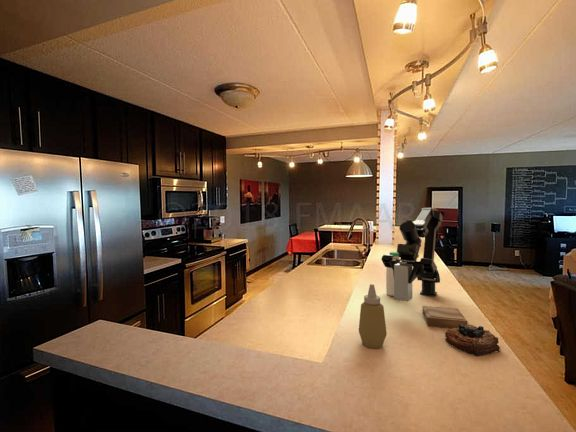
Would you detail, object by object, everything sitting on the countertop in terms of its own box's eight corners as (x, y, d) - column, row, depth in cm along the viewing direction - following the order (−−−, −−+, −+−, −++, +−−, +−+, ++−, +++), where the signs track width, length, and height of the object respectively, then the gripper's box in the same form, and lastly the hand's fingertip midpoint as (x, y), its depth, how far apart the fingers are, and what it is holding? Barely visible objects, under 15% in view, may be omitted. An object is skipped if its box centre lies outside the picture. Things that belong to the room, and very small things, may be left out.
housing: (399, 295, 109) (399, 259, 108) (412, 298, 105) (412, 261, 105) (394, 298, 105) (394, 261, 104) (407, 301, 102) (407, 263, 101)
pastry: (505, 351, 79) (505, 331, 78) (474, 359, 75) (474, 338, 75) (469, 335, 89) (469, 317, 89) (440, 341, 85) (440, 322, 85)
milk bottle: (404, 297, 126) (404, 253, 125) (386, 296, 128) (386, 253, 128) (403, 292, 133) (403, 251, 133) (386, 291, 136) (385, 250, 135)
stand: (422, 313, 107) (422, 305, 107) (458, 316, 103) (457, 308, 103) (427, 326, 96) (427, 316, 96) (467, 330, 92) (467, 320, 92)
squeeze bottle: (356, 348, 81) (356, 287, 81) (360, 336, 89) (359, 280, 89) (386, 353, 78) (385, 289, 78) (387, 340, 86) (386, 282, 86)
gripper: (382, 234, 113) (371, 266, 105) (433, 237, 101) (424, 273, 93) (390, 251, 120) (380, 282, 112) (438, 255, 107) (430, 290, 99)
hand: (402, 281), depth 104 cm, fingers closed on housing, 5 cm apart
